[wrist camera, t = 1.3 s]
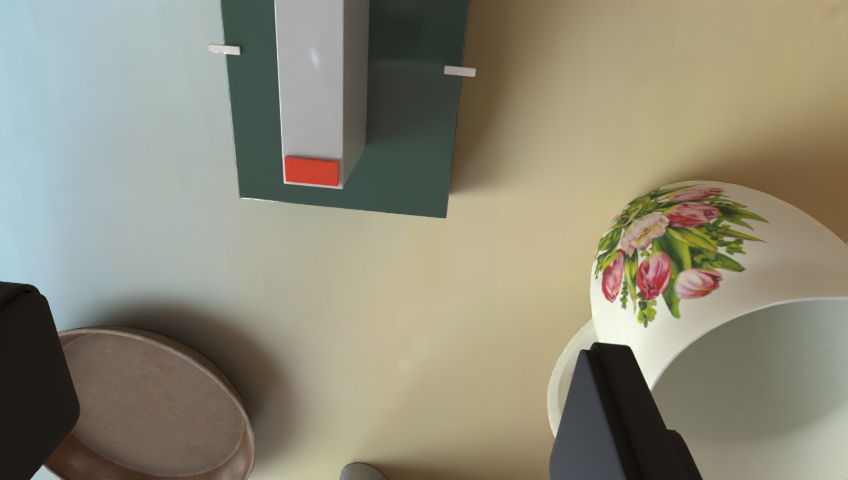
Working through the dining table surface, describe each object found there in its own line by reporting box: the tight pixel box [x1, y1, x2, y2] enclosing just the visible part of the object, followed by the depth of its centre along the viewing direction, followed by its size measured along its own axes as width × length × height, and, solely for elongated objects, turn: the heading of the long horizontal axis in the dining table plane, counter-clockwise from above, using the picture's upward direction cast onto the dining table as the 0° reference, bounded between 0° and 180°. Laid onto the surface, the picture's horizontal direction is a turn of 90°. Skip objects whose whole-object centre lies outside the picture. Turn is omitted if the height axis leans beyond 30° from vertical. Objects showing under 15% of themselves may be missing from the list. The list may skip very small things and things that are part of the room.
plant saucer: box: [43, 326, 256, 480], centre depth 38 cm, size 18×18×3 cm
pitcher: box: [547, 180, 848, 480], centre depth 25 cm, size 11×18×14 cm, turn 137°
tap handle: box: [274, 0, 369, 189], centre depth 21 cm, size 8×2×6 cm, turn 176°
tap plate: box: [209, 0, 476, 218], centre depth 25 cm, size 15×12×3 cm
